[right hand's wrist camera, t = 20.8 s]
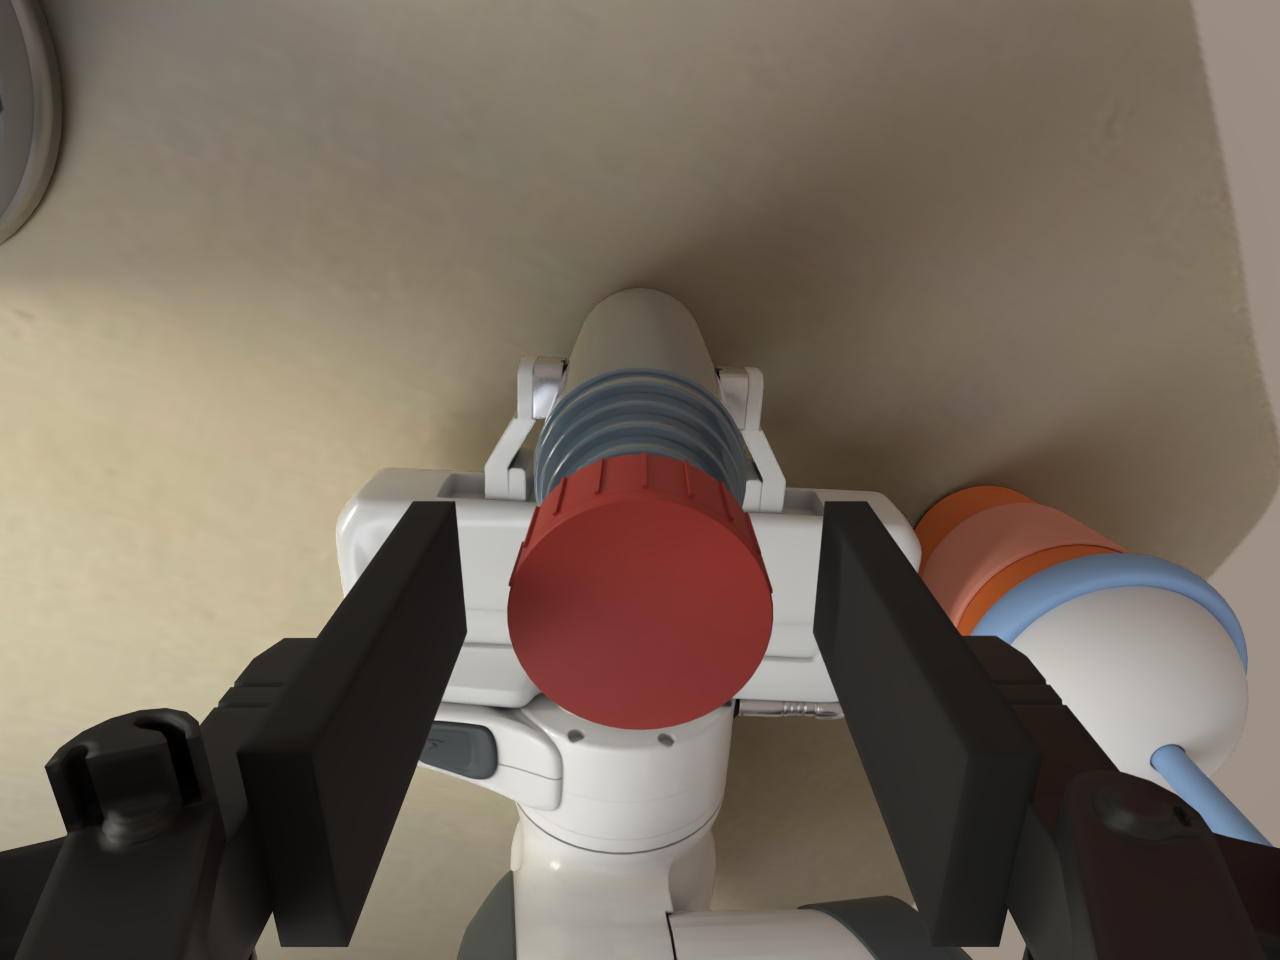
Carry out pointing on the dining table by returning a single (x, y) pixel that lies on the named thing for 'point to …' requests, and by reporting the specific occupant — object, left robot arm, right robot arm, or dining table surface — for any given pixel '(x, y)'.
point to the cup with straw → (1101, 636)
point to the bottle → (640, 395)
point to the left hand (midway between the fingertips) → (640, 364)
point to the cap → (640, 594)
